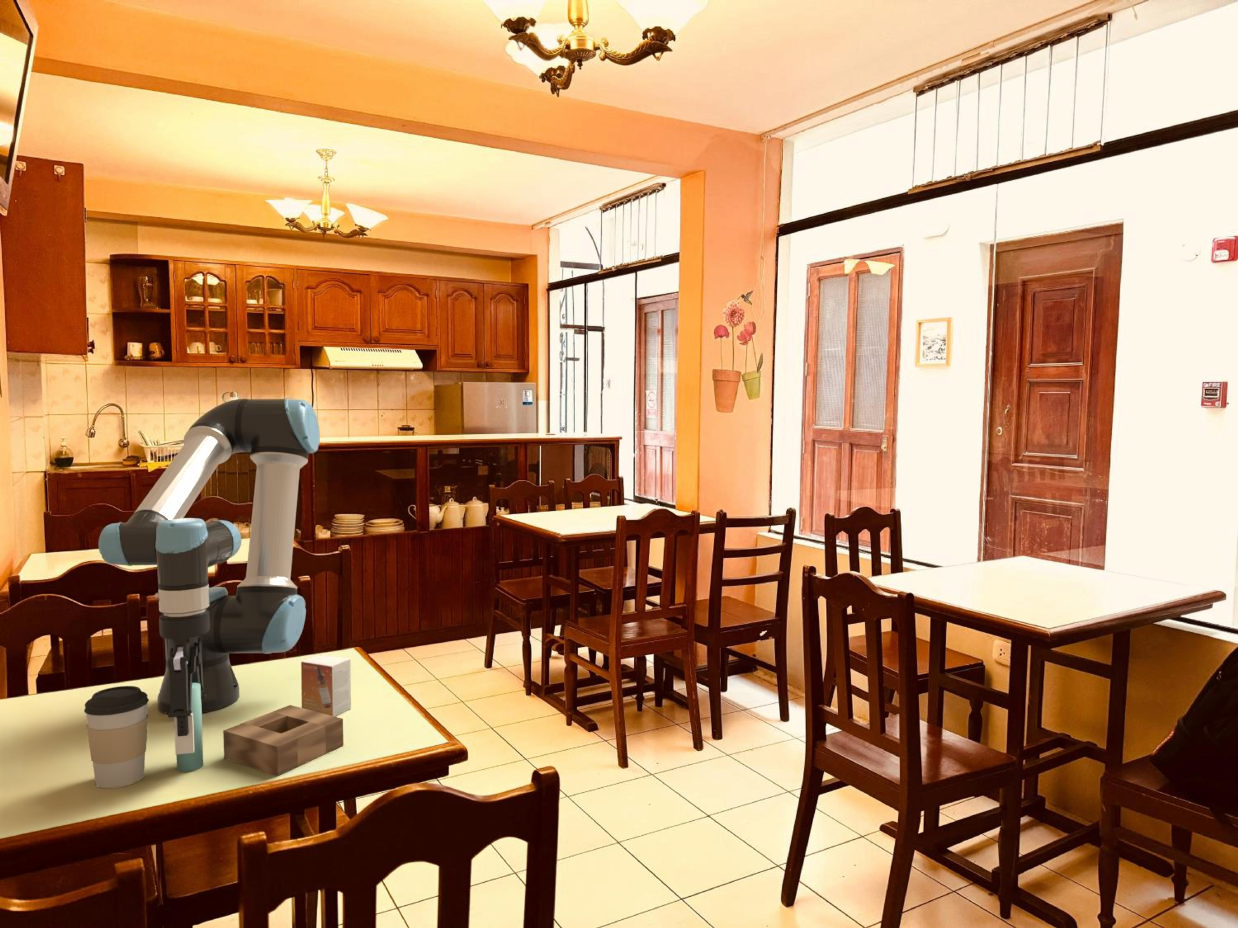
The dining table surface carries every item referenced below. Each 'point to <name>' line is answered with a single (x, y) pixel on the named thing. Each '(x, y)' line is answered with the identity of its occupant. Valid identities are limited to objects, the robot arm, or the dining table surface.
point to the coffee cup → (117, 735)
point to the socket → (283, 739)
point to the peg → (194, 759)
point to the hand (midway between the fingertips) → (189, 744)
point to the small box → (326, 684)
